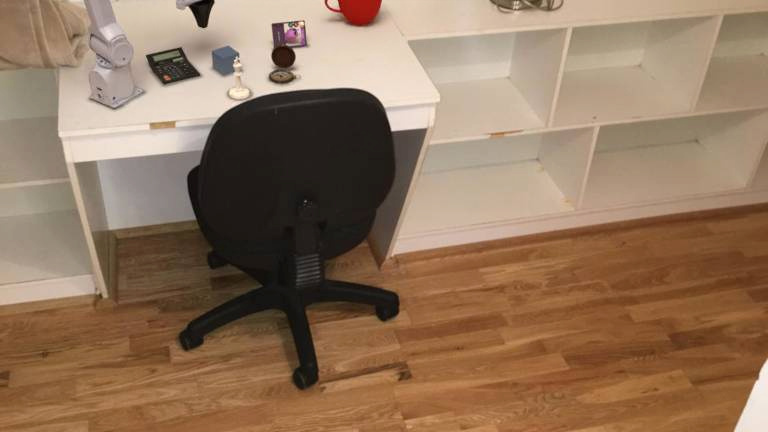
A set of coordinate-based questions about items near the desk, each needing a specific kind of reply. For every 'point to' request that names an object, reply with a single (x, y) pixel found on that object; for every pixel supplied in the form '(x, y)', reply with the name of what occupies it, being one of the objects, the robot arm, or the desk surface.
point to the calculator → (171, 66)
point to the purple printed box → (288, 33)
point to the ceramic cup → (358, 10)
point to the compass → (282, 64)
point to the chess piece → (238, 82)
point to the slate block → (224, 59)
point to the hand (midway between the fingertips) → (202, 26)
